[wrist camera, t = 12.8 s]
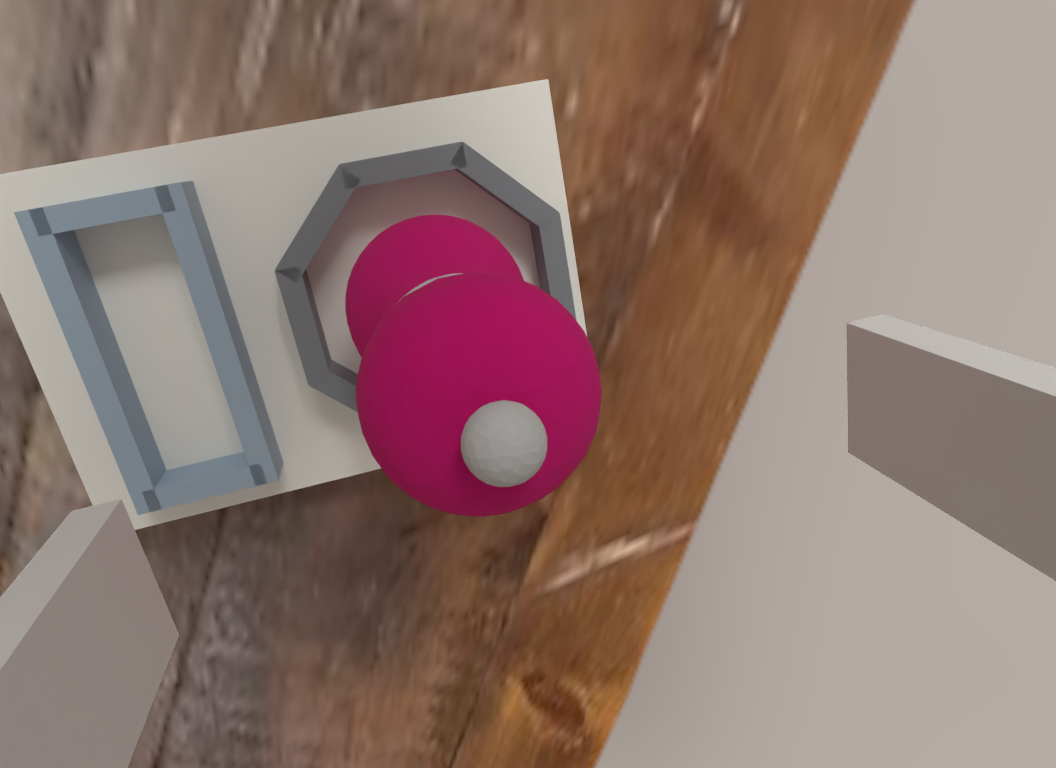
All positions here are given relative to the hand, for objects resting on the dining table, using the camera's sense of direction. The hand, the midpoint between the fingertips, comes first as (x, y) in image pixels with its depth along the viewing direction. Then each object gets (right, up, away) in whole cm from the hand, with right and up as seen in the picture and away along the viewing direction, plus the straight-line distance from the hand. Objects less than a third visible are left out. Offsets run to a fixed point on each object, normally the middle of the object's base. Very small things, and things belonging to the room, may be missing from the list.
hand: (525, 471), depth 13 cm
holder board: (-10, +5, +20) cm, 23 cm away
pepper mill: (-4, +6, +20) cm, 21 cm away
